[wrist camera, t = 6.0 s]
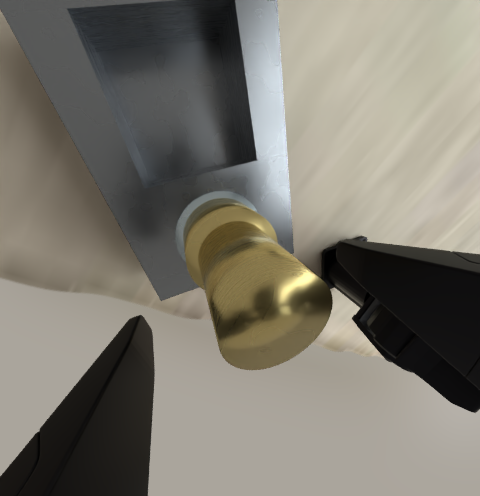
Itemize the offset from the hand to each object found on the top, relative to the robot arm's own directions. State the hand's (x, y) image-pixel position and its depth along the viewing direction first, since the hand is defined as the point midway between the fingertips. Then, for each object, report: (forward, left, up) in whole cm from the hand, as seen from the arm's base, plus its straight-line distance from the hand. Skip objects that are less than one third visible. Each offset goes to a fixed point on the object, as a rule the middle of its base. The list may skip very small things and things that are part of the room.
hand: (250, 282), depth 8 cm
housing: (+5, 0, -11) cm, 12 cm away
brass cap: (0, 0, -6) cm, 6 cm away
